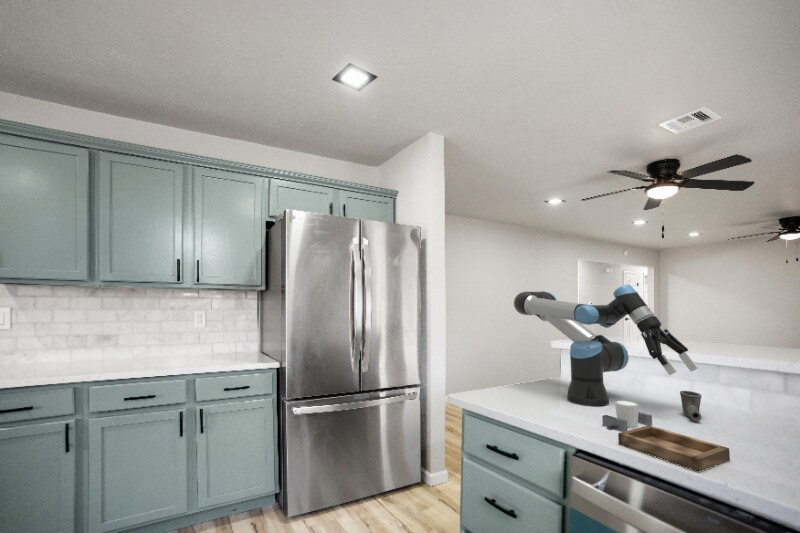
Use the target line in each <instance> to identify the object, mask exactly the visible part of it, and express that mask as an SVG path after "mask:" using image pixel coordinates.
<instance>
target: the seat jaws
mask: <svg viewBox="0 0 800 533" xmlns="http://www.w3.org/2000/svg"><path fill="white" fill-rule="evenodd" d="M652 416H653V415H652V414H650V413H645V412H641V411H638V424H643V425H645V426H648V425H650V426H653V417H652ZM601 420H602V426H604V427H606V430H609V431H611V430H616V431H620V432H624V431H628V427H627V421H626V420H622V419H619V418H617V417H615V416H612V415H608V414H605V415H602V419H601Z"/></svg>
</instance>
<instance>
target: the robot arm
mask: <svg viewBox="0 0 800 533" xmlns="http://www.w3.org/2000/svg"><path fill="white" fill-rule="evenodd" d="M613 296H614V299H613V300H612V301H610V302H609V303H608V304H596V305H595V304H594V305H593V304H586V303H577V302H568V301H561V300H558V299H557V297H556V296H555V295H554V294H552V293H551V292H548V291H541V290H540V291H522V292H519V293H517V295H516V296H515V298H514V300H513V306H514V308H515V310H516V312H518V313H519V314H520V315H522V316H523V315H524V316H536V317H538V319H540V320H541V321H542V322H549V324H551V325H552V326H553V327H554V328H556V330H558V331H560V332H561V333H562V334H563V335H564V336H565V337H567V338H568V339H569V340H570V341H571V342H572V344H571V345H570V351H569V356H570V358H569V360H570V376H571V378H570V383H569V386H568V390H567V392H566V397H567V398H566V399H567V401H569V402H571V403H574V404H577V405H582V406H590V407H591V406H593V407H604V406H608V405H609V404H610V396H609V395H608V391H607V389H606V387H605V384H604V383H605V382H604V373H608V372H618V371H621V370H623V369H624V368H626V367H627V365H628V363H629V361H630V360H629V357H630V356H629V354H628V353H629V351H628V349H627V348H626V346H624V344H622V343H620V342H617V341H611V340H610V339H608V338H607V337H605V336H604V335H602V334H595V333H594V332H593V331H592V330H590V329H589V328H587V327H586V326H585V325H589V326H590V325H600V327H604V328H605V329H607V328H611V327H612V326H615V325H616V324H617V323H618V322H619V321H620V320H622V319H623V318H626V316H627V315H628V316H629V318H630V319H631V321H632V322H633V323H634V325H636V327H637V329H638V331H640V333H641V334H640V336H641V337H642V338H643V341H644V343H645V346H646V348H647V352H648V354H649V355H650V357H651V358H652V359H653V360H655V359H657V361H659V363H660V364H661V366H662V367H663V368H664V370H665V371H666V373H667V375H668V376H671V375H673V374H675V373H677V372H678V371H677V369H676V368H675V366H674V365H673V364H672V362H671V361H670V360H669V358H668V357H667V355H666V354H663V351H662V346H661V345H662V344H663V345H666V346H667V347H668V348H669V349H671V350H672V351H674V352H675V353H677V354H678V357H679V358H680V360H681V361H682V362H683V364H684V365H685V366H686V368H688V370H689V372H693V371H696V370H697V369H699V367H698V366H697V364H696V363H695V361H694V360H693V359H692V358H691V357H690V355H689V354H688V353H687V352H688V351H689V349H688V347H686V346H685V345H684V344H683V343H682V342H681V341H680V340H679V339H678V338H676V337H675V336H674V335H673V334H672V333H671V332H670V331H669V330H668V329H667V328H665V329H661V326H662V322H661V321H660V320H659V318H658V317H657V316H655V314H654V312H653V311H652V310H651V307H650V306H648V304H646V302H645V301H644V300H643V298H642V296H640V294H639V292H638V291H637V290H636V289H635V288H634V287H633V286H632V285H631V284H623V285H620V286H618V287H617V288H616V289H615V290H614V291H613Z"/></svg>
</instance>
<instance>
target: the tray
mask: <svg viewBox="0 0 800 533" xmlns="http://www.w3.org/2000/svg"><path fill="white" fill-rule="evenodd" d="M617 436H618V439H617V440H618V445H621V446H623V445H624V447H626V448H629V447H630V448H629V449H631V448H632V450H634V449H635V450H634V451H637V450H638V452H640V451H641V453H643V452H644V453H643V454H646V453H647V454H646V455H648V454H650V456H651V455H653V456H652V457H654V456H656V457H655V458H657V457H659V458H658V459H660V458H662V459H661V460H663V459H665V460H664V461H666V460H668V461H670V462H669V463H671V462H673V463H672V464H674V463H676V464H675V465H677V464H679V465H678V466H680V465H681V466H680V467H683V466H684V468H686V467H687V468H686V469H688V468H691V469H693V470H692V471H694V470H696V471H695V472H697V471H702V470H704V471H706V470H705V469H707V468H709V469H711V468H710V467H712V468H714V467H716V466H715V465H717V466H719V465H718V464H720V465H722V464H724V462H725V463H726V462H729V461H731V457H730V455H731V454H730V448H729V447H726V446H722V445H720V444H716V443H713V442H709V441H705V440H701V439H698V438H695V437H691V436H688V435H684V434H681V433H677V432H674V431H670V430H667V429H664V428H659V427H656V426H653V425H645V426H640V427H636V428H631V429H629V430H628V431H624V432H622V431H620V432H619V433H617ZM668 461H667V462H668ZM721 463H722V464H721ZM713 466H714V467H713ZM691 469H690V470H691ZM707 470H708V469H707ZM702 472H703V471H702Z"/></svg>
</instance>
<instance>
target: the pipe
mask: <svg viewBox="0 0 800 533" xmlns="http://www.w3.org/2000/svg"><path fill="white" fill-rule="evenodd" d="M679 394H680V399H681V406H682V408H681V409H682V414H683V415H684V416H685V417H689V419H691V420H692V421H694V422H699V421H701V419H702V415H701V413H700V409H701V408H700V407H701V400H702V394H700V393H699V392H695V391H691V390H680V391H679Z"/></svg>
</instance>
